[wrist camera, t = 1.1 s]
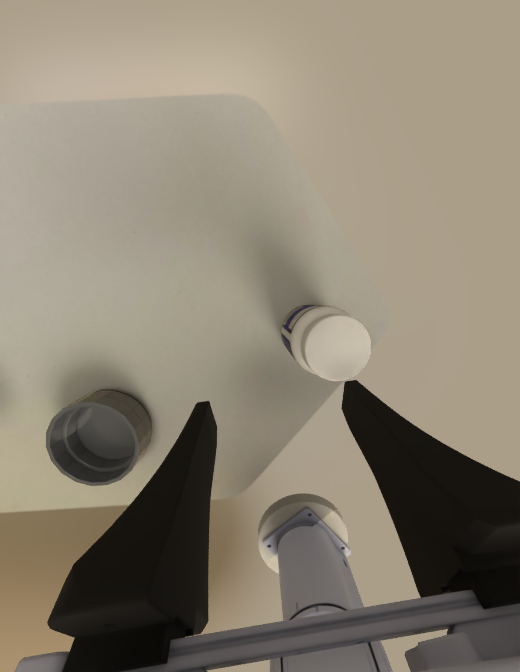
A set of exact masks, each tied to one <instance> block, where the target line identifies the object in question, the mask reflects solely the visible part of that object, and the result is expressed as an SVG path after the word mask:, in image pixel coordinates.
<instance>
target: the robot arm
mask: <svg viewBox="0 0 520 672" xmlns="http://www.w3.org/2000/svg"><path fill="white" fill-rule="evenodd" d="M342 410H343V413H344V416H345V418H346V421H347V424H348V426H349V428H350V430H351V432H352V434H353V436H354V438H355V440H356V442H357V444H358V445H359V447H360V449H361V451H362V453H363V455H364V457H365V459H366V460H367V462H368V464H369V466H370V468H371V470H372V472H373V474H374V476H375V479H376V481H377V483H378V485H379V488H380V490H381V493H382V495H383V498H384V500H385V503H386V505H387V507H388V510H389V513H390V515H391V518H392V520H393V523H394V525H395V528H396V530H397V533H398V536H399V539H400V541H401V544H402V547H403V549H404V552H405V555H406V558H407V560H408V564H409V566H410V569H411V572H412V575H413V578H414V581H415V584H416V587H417V590H418V592H419V594H420V597H421V598H418V599H412V600H406V601H400V602H394V603H388V604H382V605H376V606H370V607H364V606H363V603H362V601H361V598H360V595H359V592H358V589H357V586H356V584H355V581H354V578H353V575H352V572H351V569H350V567H349V564H348V561H347V558H346V557H348V556H349V555H350V554H351V550H350V548H349V547H348V546H347V545H346V544H345V543H344V542H343V541H342V540H341V539H340V538H339V537H338V536H337V535H336V534H335V533H334V532H333V531H332V530H331V529H330V528H329V527H328V526H327V525H326V524H325V523H324V522H323V521H322V520H321V519H320V518H319V517H318V516H317V515H316V514H315V513H314V512H313V511H312V510H311V509H310V508H309V507H304V508H303V509H302V510H300V511H299V512H298V513H297V514H295V515H294V516H293V517H291V518H290V519H289V520H288V521H286V522H285V523H284V524H282V525H281V526H280V527H278V528H277V529H276V530H275V531H273V532H272V533H271V534H269V535H268V536H267V537H266V538H264V539H263V545H264V546H265V547H266V548H267V549H268V550H269V551H270V552H271V553H272V554H273V555H274V556H275V557H277V558H278V566H279V576H280V587H281V600H282V611H283V621H281V622H275V623H269V624H263V625H257V626H251V627H245V628H240V629H234V630H227V631H221V632H215V633H210V634H203V635H198V636H193V635H196V634H200V633H201V632H202V631H203V629H204V628H205V626H206V624H207V623H208V549H209V517H210V498H211V488H212V480H213V472H214V464H215V456H216V448H217V425H216V422H215V419H214V415H213V412H212V409H211V406H210V402H209V401H205V402H198V403H197V404H196V405H195V407H194V409H193V411H192V413H191V415H190V417H189V419H188V421H187V423H186V425H185V427H184V428H183V430H182V432H181V434H180V435H179V437H178V439H177V441H176V442H175V444H174V446H173V447H172V449H171V450H170V452H169V453H168V455H167V457H166V458H165V460H164V461H163V463H162V464H161V466H160V467H159V468H158V470H157V471H156V473H155V474H154V475H153V477H152V478H151V479H150V481H149V482H148V483H147V485H146V486H145V487H144V488H143V490H142V491H141V492H140V493H139V495H138V496H137V497H136V498H135V500H134V501H133V502H132V503H131V504H130V506H129V507H128V508H127V509H126V510H125V511H124V512H123V513H122V515H121V516H120V517H119V518H118V519H117V520H116V521H115V523H113V525H112V526H111V527H110V528H109V529H108V530H107V531H106V532H105V533H104V534H103V535H102V536H101V538H99V539H98V540H97V541H96V542H95V543H94V544H93V545H92V546H91V548H89V549H88V551H87V552H86V553H85V554H84V555H83V556H82V557H81V558H80V559H79V560H77V561H76V563H74V565H73V567H72V569H71V571H70V573H69V575H68V577H67V578H66V581H65V583H64V585H63V587H62V590H61V592H60V594H59V597H58V599H57V601H56V603H55V606H54V608H53V610H52V613H51V615H50V617H49V619H48V622H47V623H48V626H49V627H50V629H52V630H54V631H57V632H60V633H63V634H66V635H69V636H72V637H75V639H74V641H73V644H72V647H71V650H70V652H54V653H48V654H42V655H36V656H31V657H24V658H23V659H22V660H21V661H20V662H19V663H18V666H17V668H16V670H15V672H207V671H206V670H212V669H217V668H223V667H229V666H235V665H241V664H246V663H252V662H258V661H264V660H270V672H392V669H391V666H390V663H389V661H388V658H387V655H386V653H385V650H384V648H383V646H382V643H381V641H380V640H386V639H392V638H398V637H403V636H409V635H415V634H421V633H426V632H433V631H438V630H444V629H448V631H447V635H445V636H442V637H438V638H434V639H430V640H426V641H422V642H418V646H416V647H415V648H413V649H410V650H408V651H406V652H405V657H406V660H407V662H408V665H409V668H410V671H411V672H520V481H517V480H515V479H513V478H510V477H508V476H506V475H504V474H501V473H499V472H497V471H495V470H493V469H491V468H489V467H487V466H485V465H483V464H481V463H479V462H477V461H475V460H473V459H471V458H469V457H467V456H465V455H463V454H461V453H459V452H458V451H456V450H454V449H452V448H450V447H449V446H447V445H445V444H443V443H442V442H440V441H438V440H437V439H435V438H433V437H432V436H430V435H429V434H427V433H425V432H424V431H422V430H421V429H419V428H418V427H416V426H415V425H413V424H412V423H410V422H409V421H407V420H406V419H405V418H403V417H402V416H400V415H399V414H398V413H396V412H395V411H394V410H392V409H391V408H390V407H388V406H387V405H386V404H385V403H383V402H382V401H381V400H380V399H378V398H377V397H376V396H375V395H374V394H372V393H371V392H370V391H369V390H368V389H366V388H365V387H364V386H363V385H361V384H360V383H359V382H358V381H357V380H353V381H346V382H345V385H344V393H343V401H342ZM308 513H310V514H308ZM269 544H270V545H269ZM187 636H192V637H187ZM185 637H186V638H185Z"/></svg>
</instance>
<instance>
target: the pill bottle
mask: <svg viewBox="0 0 520 672" xmlns="http://www.w3.org/2000/svg"><path fill="white" fill-rule="evenodd" d="M281 336H282V340H283V343H284V345H285V346H286V348H287V349H288V351H289V352H290V353H291V355H292V356H293V357H294V359H295V360H296V361H297V363H298V364H299V365H300V366H301V367H303V368H304V369H305V370H307V371H309V372H311V373H313V374H316V375H318V376H319V377H321V378H323V379H326V380H330V381H343V380H347V379H349V378H352V377H353V376H355V375H356V374H358V373H359V372H360V371H361V370H362V369H363V368H364V367H365V365H366V363H367V362H368V359H369V357H370V353H371V340H370V336H369V334H368V332H367V330H366V328H365V327H364V326H363V325H362V324H361V323H360V322H359V321H358V320H356V319H354V318H352V317H351V316H350V315H349V314H347V313H346V312H345V311H343V310H341V309H338V308H335V307H330V306H314V305H306V306H301V307H298V308H296V309H294V310H292V311H291V312H290V313H289V314H288V315H287V316H286V318H285V319H284V321H283V324H282V329H281Z"/></svg>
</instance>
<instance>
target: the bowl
mask: <svg viewBox="0 0 520 672" xmlns="http://www.w3.org/2000/svg"><path fill="white" fill-rule="evenodd" d="M151 432H152V426H151V423H150V420H149V416H148V414H147V413H146V411H145V410H144V409H143V407H142V406H141V405H140V404H139V403H138V402H137V401H135V400H134V399H133V398H131V397H130V396H128V395H126V394H122V393H119V392H116V391H97V392H94V393H92V394H89V395H87V396H85V397H83V398H81V399H79V400H77V401H76V402H74V403H72V404H70V405H69V406H67V407H65V408H63V409H62V410H61V411H60V412H59V413H58V414H57V415H56V416H55V417H54V418H53V419H52V420H51V423H50V425H49V427H48V429H47V432H46V448H47V451H48V453H49V456H50V458H51V461H52V462H53V463H54V465H55V466H56V467H57V468H58V469H59V471H60V472H61V473H62V474H64V475H66V476H67V477H69V478H70V479H72V480H74V481H76V482H79V483H82V484H86V485H90V486H98V485H108V484H111V483H114V482H116V481H119V480H121V479H122V478H123V477H125V476H126V475H127V474H128V473H129V472H130V471H131V470H132V469H133V468H134V466H135V465H136V464H137V462H138V461H139V459H140V458H141V457H142V455H143V454H144V453H145V451H146V449H147V447H148V445H149V443H150V441H151Z"/></svg>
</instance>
